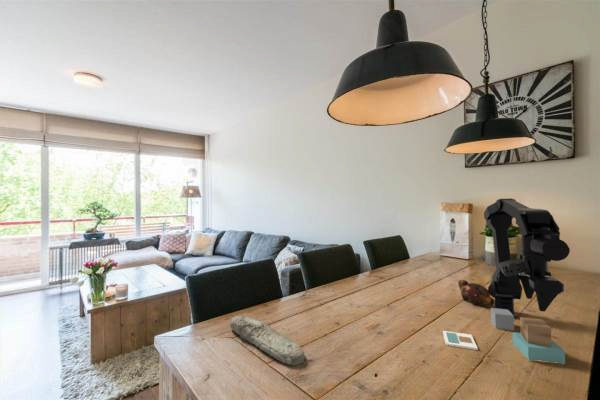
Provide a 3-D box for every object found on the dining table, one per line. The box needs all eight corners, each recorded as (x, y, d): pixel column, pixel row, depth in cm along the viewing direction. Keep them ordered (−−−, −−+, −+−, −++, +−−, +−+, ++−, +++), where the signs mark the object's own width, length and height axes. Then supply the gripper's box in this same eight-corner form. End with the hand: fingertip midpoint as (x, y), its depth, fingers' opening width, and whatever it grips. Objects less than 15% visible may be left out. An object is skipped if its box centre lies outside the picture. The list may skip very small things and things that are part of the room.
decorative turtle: (465, 294, 119) (466, 276, 118) (501, 309, 105) (502, 289, 104) (449, 296, 115) (450, 278, 115) (484, 312, 101) (486, 292, 101)
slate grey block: (491, 322, 92) (490, 307, 92) (508, 324, 91) (508, 309, 91) (495, 328, 88) (495, 313, 88) (514, 331, 86) (513, 315, 86)
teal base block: (513, 345, 78) (512, 332, 78) (545, 348, 76) (545, 334, 76) (528, 361, 70) (528, 346, 70) (565, 365, 68) (564, 350, 68)
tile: (442, 332, 86) (442, 330, 86) (471, 336, 83) (471, 334, 83) (446, 345, 79) (446, 342, 79) (477, 350, 76) (477, 347, 76)
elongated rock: (286, 379, 68) (313, 364, 75) (287, 358, 68) (314, 345, 75) (221, 327, 93) (245, 319, 100) (222, 312, 93) (246, 305, 100)
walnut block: (520, 334, 77) (520, 317, 77) (542, 337, 75) (541, 319, 75) (528, 343, 72) (527, 325, 72) (551, 346, 70) (550, 327, 70)
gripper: (492, 245, 90) (493, 290, 90) (511, 258, 73) (512, 314, 73) (534, 246, 85) (534, 294, 86) (564, 260, 68) (565, 320, 69)
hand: (535, 304), depth 78 cm, fingers open, 9 cm apart
